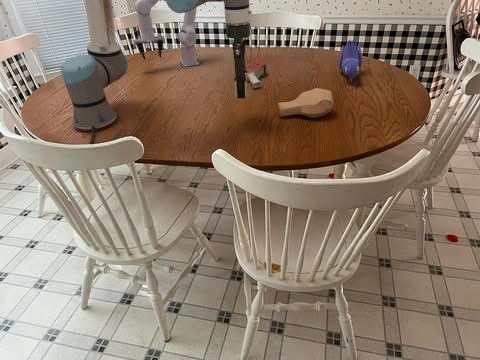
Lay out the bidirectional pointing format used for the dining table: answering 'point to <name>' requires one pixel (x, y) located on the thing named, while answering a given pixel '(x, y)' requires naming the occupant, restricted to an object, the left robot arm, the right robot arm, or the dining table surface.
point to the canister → (245, 89)
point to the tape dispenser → (255, 73)
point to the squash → (309, 104)
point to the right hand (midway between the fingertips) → (152, 58)
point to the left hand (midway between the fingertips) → (241, 94)
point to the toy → (350, 59)
